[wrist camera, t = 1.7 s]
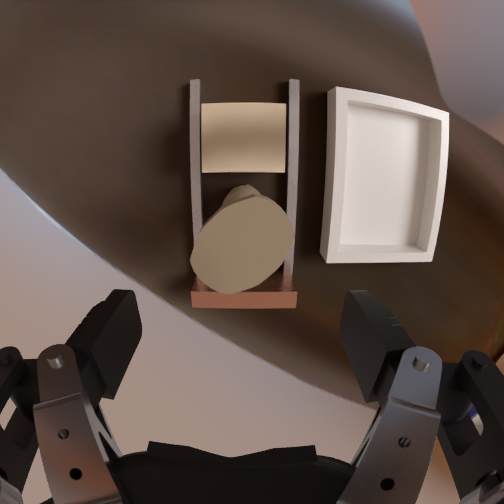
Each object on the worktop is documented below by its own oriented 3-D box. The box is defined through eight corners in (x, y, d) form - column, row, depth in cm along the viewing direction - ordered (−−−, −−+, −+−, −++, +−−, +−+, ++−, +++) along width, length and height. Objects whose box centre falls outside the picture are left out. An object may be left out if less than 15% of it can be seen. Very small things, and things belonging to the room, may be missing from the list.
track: (192, 82, 25) (182, 71, 21) (297, 82, 25) (306, 71, 21) (199, 285, 34) (192, 307, 29) (289, 285, 34) (295, 307, 30)
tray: (327, 91, 26) (336, 86, 23) (433, 113, 26) (448, 112, 23) (319, 251, 33) (326, 263, 30) (419, 252, 33) (431, 261, 30)
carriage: (210, 111, 26) (201, 104, 21) (278, 111, 27) (286, 103, 21) (210, 166, 29) (202, 172, 23) (277, 166, 29) (284, 172, 23)
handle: (281, 193, 30) (310, 240, 16) (238, 233, 32) (232, 307, 18) (249, 161, 29) (252, 179, 15) (207, 203, 30) (174, 257, 16)
